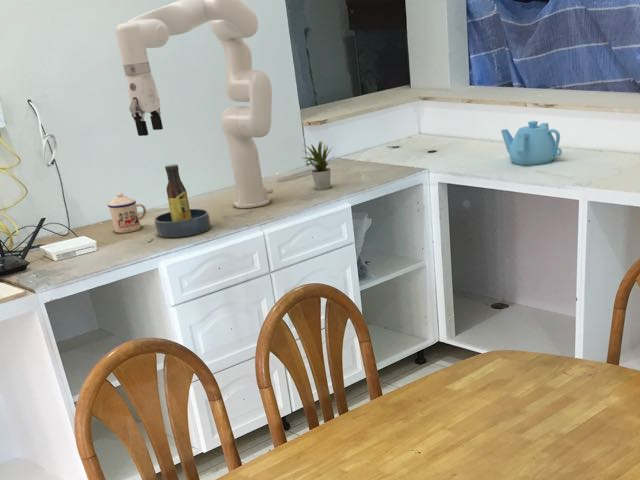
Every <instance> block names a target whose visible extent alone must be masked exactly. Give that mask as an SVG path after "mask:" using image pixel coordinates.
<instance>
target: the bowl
mask: <svg viewBox="0 0 640 480" xmlns="http://www.w3.org/2000/svg"><path fill="white" fill-rule="evenodd" d="M190 212H191V218H192V219H190V220H185V221H178V222H172V217H171V212H170V211H168V212H165V213H161V214H159V215H157V216H155V217H154V219H153V222H154V225H155V229H156V234H157V236H158V237H162V238H182V237H190V236H194V235H198V234H201V233H204V232H206V231H208V230H210V229H211V227H212V224H211V220H210V213H209V211H208V210H207V209H203V208H190Z"/></svg>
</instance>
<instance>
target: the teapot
mask: <svg viewBox="0 0 640 480" xmlns="http://www.w3.org/2000/svg"><path fill="white" fill-rule="evenodd" d="M538 123H539V122H538V120H530V121H528V122H527V125H528V126H527V125H526V126H522V127H519V128H518V129H517V131H516V133H515V135H514V137H513V136H512V134H511V133H510V131H509V129H500V130H501V131H500V132H501V135H502V139H503V141H504V145H505V149H506V150H507V153H508V155H509V159H510V160H511V161H512V162H513V163H514V164H515V165H519V166H521V165H522V166H535V165H543V164H548V163H551V162H553V161H554V159H555V158H557V157H560V156H562V153H563V150H562V148H560V147H559V144H560V141H561V133H560V132H559V130H557V129H555V128H550V127H549V122H542V123H541V124H539V125H538ZM552 133H554V134H555V137H554V135H553V134H552Z"/></svg>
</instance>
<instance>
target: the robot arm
mask: <svg viewBox="0 0 640 480" xmlns="http://www.w3.org/2000/svg"><path fill="white" fill-rule="evenodd" d="M207 22H209V27H210V29H211V32H212V33H213V34H214V36H215V37H216V38H217V40H218V41H219V43H220V45H221V46H222V48H223V50H224V55H225V90H226V95H227V97H228V99H230V100H231V101H232V102H237V103H249V105H248V106H247V105H234V106H230V107H228V108H226V109H224V111H223V112H222V115H221V118H220V123H221V128H222V131H223V133H224V136H225V139H226V142H227V147H228V150H229V151H228V152H229V157H230V161H231V168H232V173H233V179H234V184H235V191H236V196H237V197H236V198H237V200H235V201H234V202H233V205H234V207H235V208H238V209H252V208H259V207H263V206H266V205H268V204H270V203H271V199H270V197H268V195H270V194H272V193H273V192H274V188H273V187H271V186H270V187H267V188H266V187H264V183H263V182H264V181H263V177H262V169H261V164H260V163H261V162H260V157H259V151H258V147H257V145H256V142H255V141H254V139H253V138H263V137H266V136H268V134H269V132H270V130H271V127H272V109H273V108H272V107H273V105H272V102H273V90H272V83H271V80H270V78H269V76H268V75H267V73H266V72H264V70H263V71H262V70H259V69H253V61H252V60H253V58H252V51H251V49H250V46H249V44H248V42H247V41H246V40H245V39H248V38H252V37H253V36H254V35H256V33H257V31H258V28H259V20H258V17H257V15H256V13H255V12H254V10H253V9H252V8H251V7H250V6H249V5H247V4H246V3H245V2H243V1H242V0H176V1H174V2H172V3H169V4H166V5H162V6H161V7H158V8H155V9H153V10H148V11H147V12H144V13H142V14H139V15H137V16H135V17H133V18H131V19H129V20H128V21H126V22H123V23H119V24H116V26H115V27H114V30H115V35H116V39H117V44H118V49H119V53H120V58H121V62H122V65H123V66H122V67H123V72H124V77H125V78H126V84H127V91H128V98H129V102H130V104H129V107H128V109H129V112H130V114H131V117H132V118H133V121H134V123H135V128H136V132H137V135H138V136H139V137H146V136H148V135H149V131H148V126H147V122H146V120H145V114H150V116H149V118H150V122H151V127H152V130H153V131H160V130H161V131H162V130H164V127H163V122H162V117H161V115H162V114H161V101H160V98H159V93H158V90H157V87H156V83H155V79H154V77H153V74H152V70H151V67H150V61H149V57H148V52H147V49H157V48H158V49H159V48H162V47H164V46H165V45H166V44H167V43H168V42H169V38H170V37H171V36H179V35H182V34H186V33H188V32H191V31H192V30H194V29H195V28H198V27H200V26H202V25H203V24H205V23H207Z"/></svg>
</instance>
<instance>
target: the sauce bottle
mask: <svg viewBox="0 0 640 480" xmlns="http://www.w3.org/2000/svg"><path fill="white" fill-rule="evenodd" d="M164 169H165V172H166V176H167V181H168V182H167V184H166V190H165V191H166V195H167V202H168V207H169V212H171V217H172V222H178V221H185V220H190V219H192V218H191V212H190V209H191V208H190V202H189V197H188V191H187V189H186V187H185V185H184V183H183V181H182V179H181V177H180V171H179V165H178V164H176V163H175V164H167V165H165V166H164Z"/></svg>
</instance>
